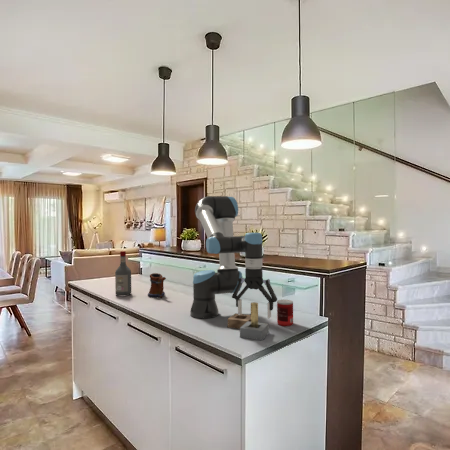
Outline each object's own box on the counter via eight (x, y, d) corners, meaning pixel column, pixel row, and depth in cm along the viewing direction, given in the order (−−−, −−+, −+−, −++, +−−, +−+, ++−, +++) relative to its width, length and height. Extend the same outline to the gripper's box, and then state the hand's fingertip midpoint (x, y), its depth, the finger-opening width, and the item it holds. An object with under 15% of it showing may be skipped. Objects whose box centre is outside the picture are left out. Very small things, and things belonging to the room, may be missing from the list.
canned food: (291, 321, 162) (290, 299, 162) (295, 326, 154) (294, 303, 154) (275, 321, 162) (275, 299, 162) (279, 326, 154) (278, 303, 154)
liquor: (126, 296, 221) (126, 252, 221) (114, 295, 223) (113, 252, 222) (132, 293, 230) (132, 250, 230) (120, 292, 232) (119, 250, 231)
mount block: (227, 327, 154) (227, 318, 154) (235, 321, 163) (235, 313, 163) (247, 329, 150) (247, 321, 150) (254, 323, 159) (254, 315, 159)
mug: (172, 297, 215) (172, 275, 215) (156, 300, 208) (156, 277, 208) (160, 293, 229) (160, 272, 229) (144, 295, 222) (144, 273, 222)
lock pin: (250, 335, 142) (249, 303, 142) (252, 333, 145) (252, 302, 145) (257, 336, 141) (256, 304, 141) (259, 334, 144) (258, 302, 144)
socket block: (239, 337, 141) (239, 327, 141) (247, 329, 150) (247, 321, 150) (262, 340, 137) (262, 330, 137) (268, 332, 146) (268, 323, 146)
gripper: (224, 267, 144) (224, 315, 145) (279, 270, 134) (280, 321, 135) (230, 265, 151) (231, 310, 152) (283, 267, 141) (284, 316, 142)
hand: (254, 316), depth 143 cm, fingers open, 13 cm apart
